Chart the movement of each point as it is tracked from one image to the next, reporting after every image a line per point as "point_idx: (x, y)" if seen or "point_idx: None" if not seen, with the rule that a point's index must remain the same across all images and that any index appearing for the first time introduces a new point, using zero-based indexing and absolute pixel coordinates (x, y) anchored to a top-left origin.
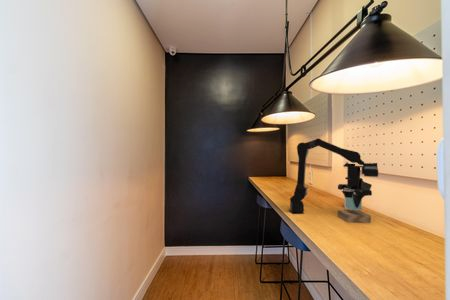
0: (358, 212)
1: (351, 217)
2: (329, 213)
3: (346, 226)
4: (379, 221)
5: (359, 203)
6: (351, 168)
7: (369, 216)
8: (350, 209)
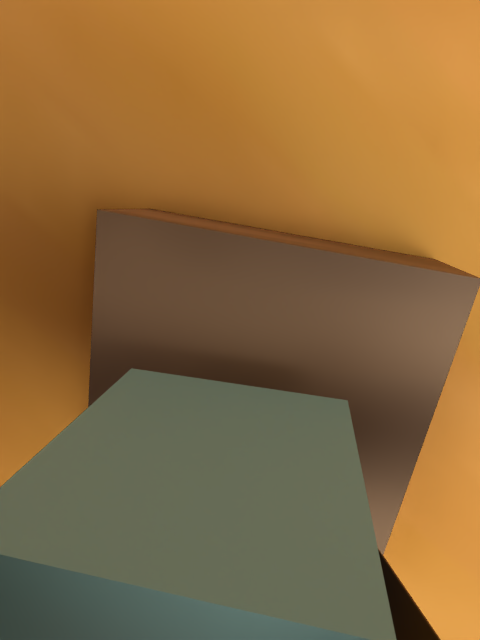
0: (254, 346)
1: None
2: (4, 459)
3: (460, 623)
4: (417, 48)
5: (418, 619)
6: None
7: (463, 296)
8: None
